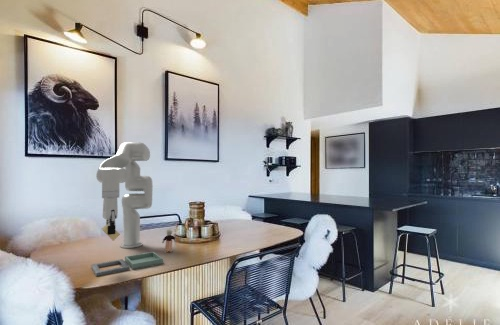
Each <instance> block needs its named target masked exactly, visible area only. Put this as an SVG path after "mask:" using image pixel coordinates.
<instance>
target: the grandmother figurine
mask: <svg viewBox="0 0 500 325" xmlns="http://www.w3.org/2000/svg"><path fill="white" fill-rule="evenodd" d="M172 234H173V230H172V229H166V236H164V238H163V239H162V241H161V243H162V244H165V246H164V247H165V248H164V253H166V252H167V253H172V251H173V242H177V239H176V237H175V236H174V235H172Z"/></svg>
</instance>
